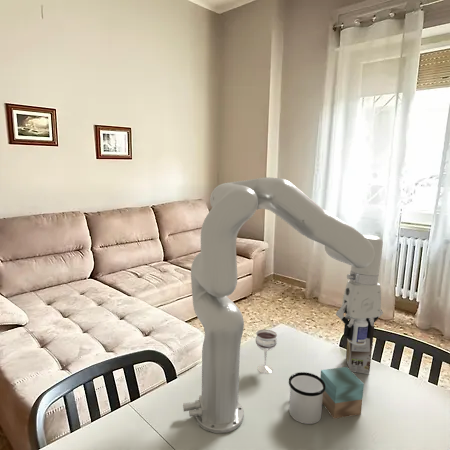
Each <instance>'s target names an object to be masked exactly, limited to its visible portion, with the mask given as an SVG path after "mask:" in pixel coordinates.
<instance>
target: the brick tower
mask: <svg viewBox="0 0 450 450" xmlns="http://www.w3.org/2000/svg"><path fill="white" fill-rule="evenodd" d="M319 377H320V378H321V379H322V380H323V381H324V383H325V386H326V389H325V391H324V392H323V399H322V406H323V407H325V409H326V410H327V412H328V413H329V415H330V416H331V417H332V419H340V418H347V417H353V416H360V415H361V414H362V408H363V407H362V406H363V397H364V387H365V383H364V382H363V381H362V380H360V378H359V377H358V376H357V375H356V374H355V373H354V372H351V371H350V370H349V367H347V366H342V367H333V368H326V369H321V370H320V376H319Z"/></svg>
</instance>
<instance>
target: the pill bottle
mask: <svg viewBox="0 0 450 450" xmlns="http://www.w3.org/2000/svg"><path fill="white" fill-rule="evenodd" d="M352 327H353V336H352V340H349V339H348V338H347V340H348V341H349V342H350V343H352V344H355V345H365V344H366V340H367V331H368V322H367V321H366V318H364V319H354V322H353V324H352Z"/></svg>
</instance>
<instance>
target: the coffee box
mask: <svg viewBox="0 0 450 450" xmlns="http://www.w3.org/2000/svg"><path fill="white" fill-rule="evenodd" d="M349 319H350V317H349ZM374 333H375V324H374V325H373V326H372V329H371V336H370V339H368V338H367V340H366V344H365V345H355V344H352V343H350V342H349V341H348V340H347V341H346V353H345V359H346V364H347V366H348V367H347V368H348V369H349V370H350V371H351V372H352V373H360V374H366V375H369V374H370V371H371V362H372V351H373V344H374V343H373V342H374Z"/></svg>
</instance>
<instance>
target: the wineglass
mask: <svg viewBox="0 0 450 450" xmlns="http://www.w3.org/2000/svg"><path fill="white" fill-rule="evenodd" d="M255 335H256V337H255V344H256V345H257V347H258V348H259V349H260V350H262V351H263V352H264V364H259V365H258V366H257V371H258V372H260V373H261V374H271V373H272V372H273V370H274V369H273V367H272V366H271V365H268V364H267V358H268V357H267V355H268V352H269V351H272V350H273V349H275V347H276V346H277V344H278V340H277V337H278V334H277V332H275V331H273V330H271V329H259V330H257V331H256V332H255Z"/></svg>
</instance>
